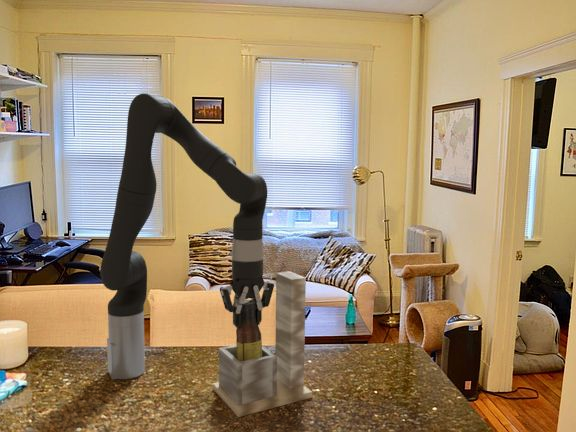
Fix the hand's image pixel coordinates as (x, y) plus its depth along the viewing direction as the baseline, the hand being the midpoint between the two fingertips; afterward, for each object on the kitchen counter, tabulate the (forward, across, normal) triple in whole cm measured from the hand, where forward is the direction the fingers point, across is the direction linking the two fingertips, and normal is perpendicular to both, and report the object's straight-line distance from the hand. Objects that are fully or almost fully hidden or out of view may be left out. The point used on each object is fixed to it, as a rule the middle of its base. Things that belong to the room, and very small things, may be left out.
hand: (247, 325), depth 123 cm
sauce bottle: (+14, -1, 0) cm, 14 cm away
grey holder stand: (+18, -4, 0) cm, 19 cm away
